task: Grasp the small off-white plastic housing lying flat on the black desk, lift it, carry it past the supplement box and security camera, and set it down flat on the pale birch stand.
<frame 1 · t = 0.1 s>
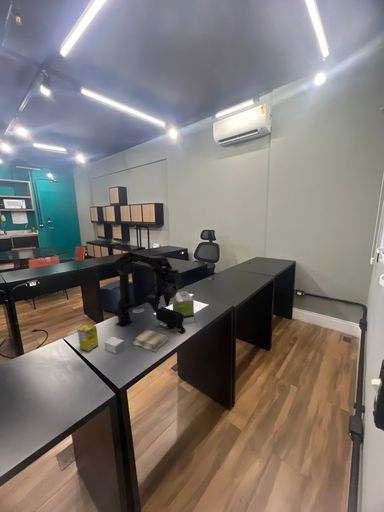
hand: (162, 309, 111), 15 cm above the table, fingers open, 9 cm apart
tea box: (183, 318, 132), on the table
security camera: (171, 328, 121), on the table
stand: (150, 342, 108), on the table
supplement box: (89, 347, 104), on the table
housing: (115, 348, 103), on the table
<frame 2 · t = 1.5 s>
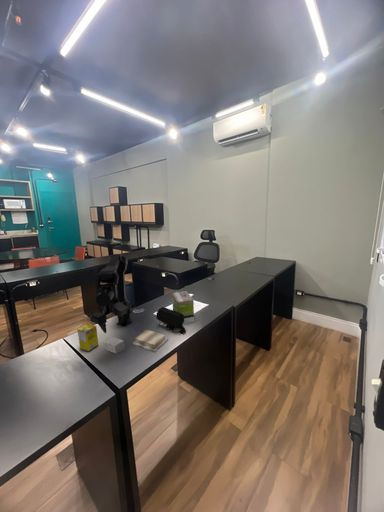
hand: (113, 327, 101), 11 cm above the table, fingers open, 9 cm apart
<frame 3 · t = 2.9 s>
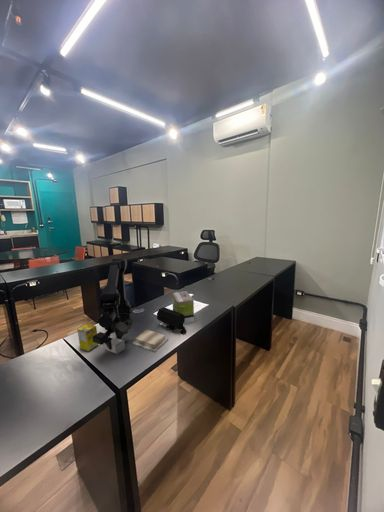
hand: (114, 346, 103), 1 cm above the table, fingers closed on housing, 5 cm apart
housing: (115, 348, 103), on the table, touching gripper
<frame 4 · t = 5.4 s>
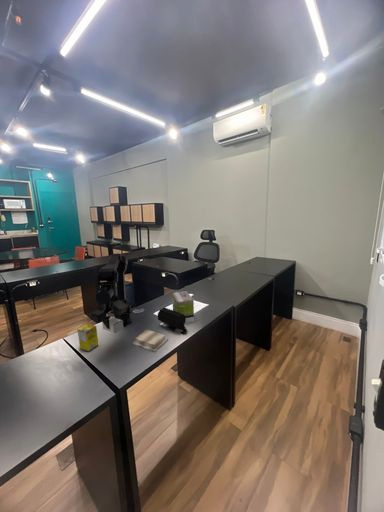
hand: (113, 326, 101), 12 cm above the table, fingers closed on housing, 5 cm apart
housing: (113, 328, 101), point 11 cm above the table, touching gripper
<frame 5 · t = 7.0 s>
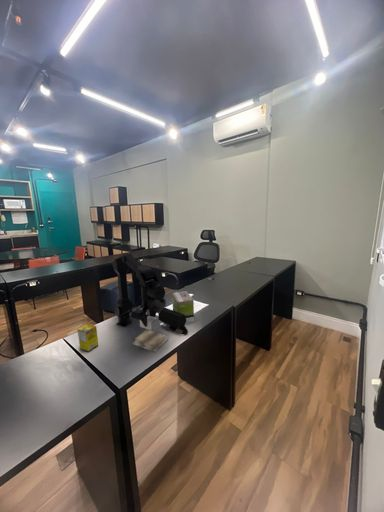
hand: (149, 324, 106), 10 cm above the table, fingers closed on housing, 5 cm apart
housing: (149, 326, 106), point 9 cm above the table, touching gripper
when the fingers open (5 cm above the table, at t = 8.1 s): housing drops 1 cm, resting on stand.
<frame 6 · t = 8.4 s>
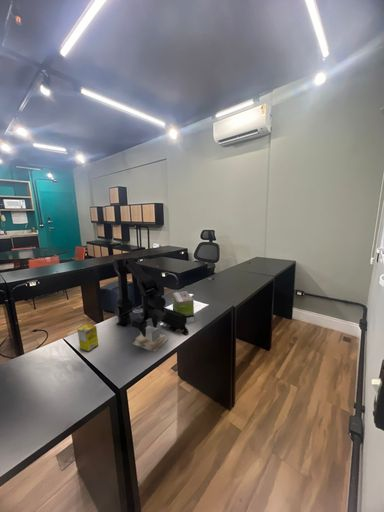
hand: (149, 332, 107), 5 cm above the table, fingers open, 8 cm apart
housing: (150, 336, 107), point 3 cm above the table, touching stand
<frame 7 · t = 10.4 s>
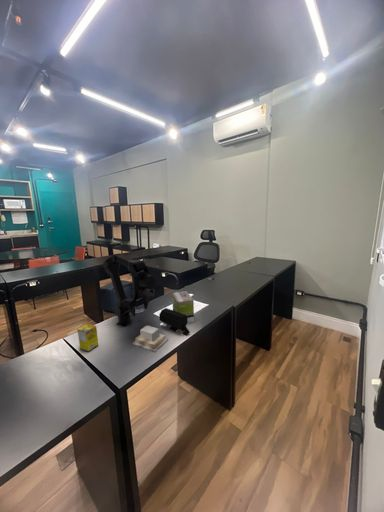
hand: (140, 312, 115), 12 cm above the table, fingers open, 9 cm apart
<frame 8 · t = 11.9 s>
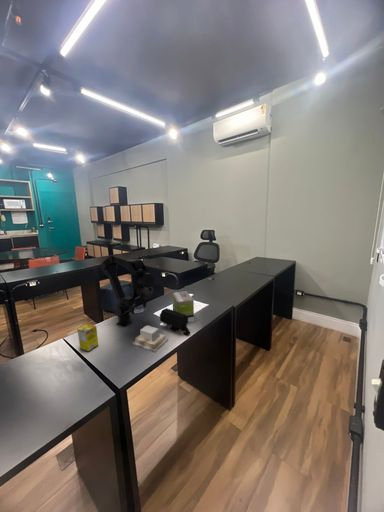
hand: (138, 310, 116), 12 cm above the table, fingers open, 9 cm apart
at the end: housing inside the target area on the stand (0.0 cm from its centre), point 3.0 cm above the stand's base; housing tilted 0°; the gripper is holding nothing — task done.
